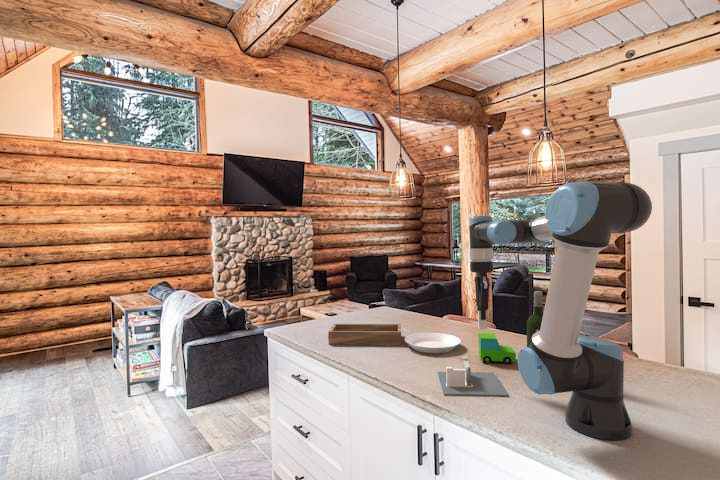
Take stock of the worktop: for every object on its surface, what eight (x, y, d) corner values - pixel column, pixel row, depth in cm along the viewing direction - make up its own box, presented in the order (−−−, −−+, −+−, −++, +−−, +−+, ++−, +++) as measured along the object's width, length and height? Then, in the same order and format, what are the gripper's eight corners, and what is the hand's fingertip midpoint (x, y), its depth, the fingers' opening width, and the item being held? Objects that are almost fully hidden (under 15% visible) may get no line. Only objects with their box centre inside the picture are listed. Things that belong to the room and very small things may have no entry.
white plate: (401, 354, 171) (401, 346, 171) (408, 339, 195) (408, 331, 195) (461, 357, 165) (461, 349, 165) (460, 341, 189) (460, 333, 189)
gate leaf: (470, 383, 135) (470, 366, 134) (466, 383, 135) (465, 365, 135) (467, 372, 144) (467, 356, 144) (463, 372, 145) (462, 356, 144)
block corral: (401, 344, 184) (401, 332, 184) (328, 344, 187) (328, 331, 187) (401, 335, 200) (400, 324, 200) (333, 335, 203) (333, 323, 203)
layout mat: (508, 396, 125) (508, 394, 125) (444, 395, 127) (444, 393, 127) (493, 373, 145) (493, 372, 145) (437, 373, 147) (437, 371, 147)
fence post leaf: (471, 388, 132) (471, 368, 132) (447, 387, 133) (446, 368, 133) (470, 386, 134) (470, 366, 134) (446, 385, 135) (446, 366, 135)
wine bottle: (538, 369, 149) (538, 289, 148) (556, 376, 142) (555, 292, 141) (522, 372, 146) (521, 290, 145) (539, 379, 139) (538, 293, 138)
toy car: (517, 365, 153) (516, 340, 153) (481, 364, 156) (480, 338, 156) (512, 357, 163) (512, 333, 163) (478, 356, 166) (478, 332, 166)
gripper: (497, 261, 131) (498, 333, 131) (488, 259, 144) (489, 324, 144) (474, 262, 132) (475, 333, 132) (466, 259, 144) (468, 324, 145)
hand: (482, 328), depth 138 cm, fingers closed
